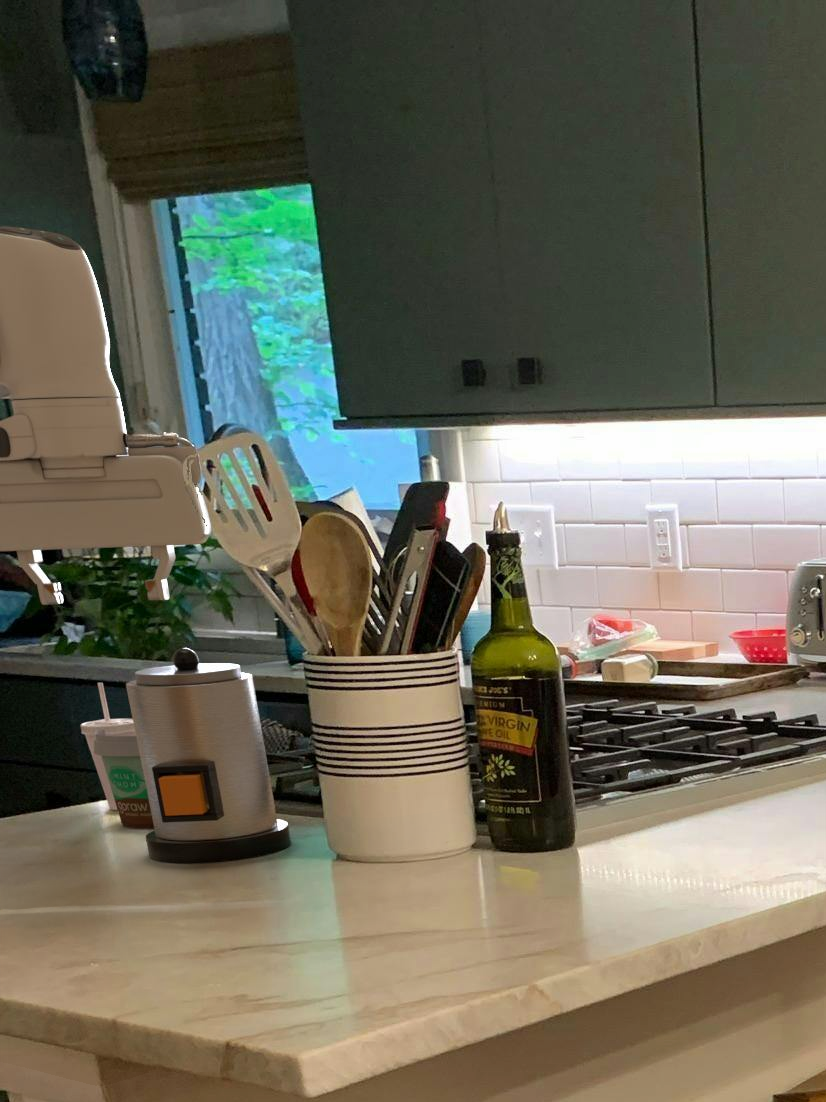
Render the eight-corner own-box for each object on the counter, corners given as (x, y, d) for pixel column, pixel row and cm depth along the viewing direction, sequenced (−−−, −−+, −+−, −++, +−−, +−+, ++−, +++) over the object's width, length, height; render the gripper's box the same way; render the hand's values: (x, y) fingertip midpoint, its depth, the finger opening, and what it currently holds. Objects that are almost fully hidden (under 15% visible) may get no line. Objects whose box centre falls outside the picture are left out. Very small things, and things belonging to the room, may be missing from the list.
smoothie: (145, 800, 230) (120, 678, 225) (163, 806, 226) (139, 682, 220) (89, 807, 227) (64, 684, 221) (107, 814, 222) (81, 688, 216)
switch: (202, 814, 190) (195, 777, 189) (165, 815, 190) (158, 778, 188) (207, 811, 192) (201, 774, 190) (171, 812, 192) (163, 775, 190)
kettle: (269, 861, 194) (232, 653, 186) (127, 868, 193) (84, 659, 185) (311, 828, 210) (279, 636, 202) (180, 834, 209) (143, 641, 201)
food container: (86, 830, 213) (66, 737, 209) (117, 820, 219) (99, 729, 214) (188, 830, 211) (170, 736, 207) (217, 820, 216) (200, 728, 212)
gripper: (204, 431, 173) (232, 595, 179) (-32, 439, 171) (4, 603, 177) (184, 432, 167) (214, 600, 173) (-59, 439, 166) (-21, 609, 171)
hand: (106, 602), depth 175 cm, fingers open, 8 cm apart
